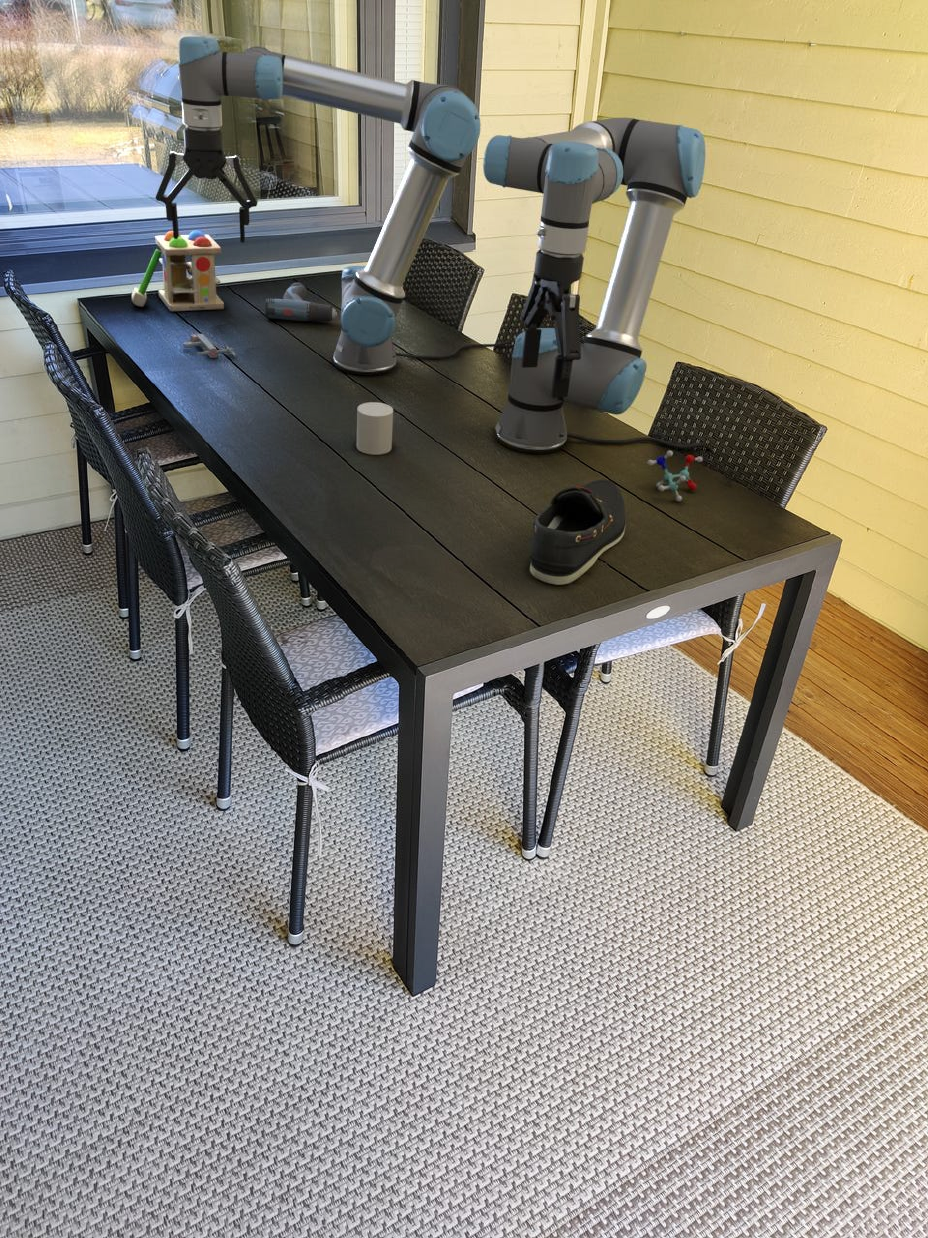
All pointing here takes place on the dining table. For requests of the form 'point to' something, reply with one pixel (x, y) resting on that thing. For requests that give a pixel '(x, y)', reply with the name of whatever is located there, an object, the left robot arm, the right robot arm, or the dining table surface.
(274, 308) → the power drill
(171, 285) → the pounding bench toy
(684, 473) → the molecular model
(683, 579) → the dining table surface
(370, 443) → the can
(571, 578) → the boat shoe
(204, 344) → the clamp
